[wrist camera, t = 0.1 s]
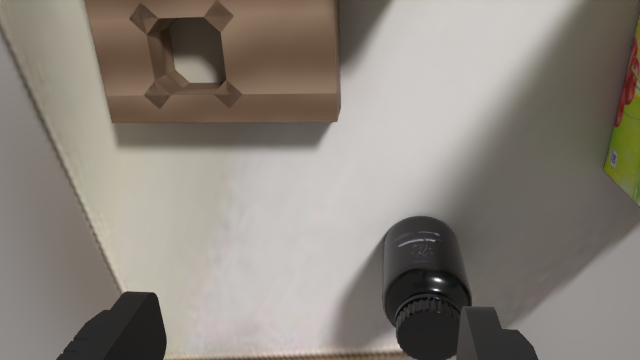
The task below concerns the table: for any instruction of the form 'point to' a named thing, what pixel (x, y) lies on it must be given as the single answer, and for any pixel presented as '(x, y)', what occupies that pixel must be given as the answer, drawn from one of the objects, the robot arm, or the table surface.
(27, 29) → the table surface
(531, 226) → the table surface
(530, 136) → the table surface
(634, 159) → the snack box
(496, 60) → the table surface
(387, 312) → the supplement bottle
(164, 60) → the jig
